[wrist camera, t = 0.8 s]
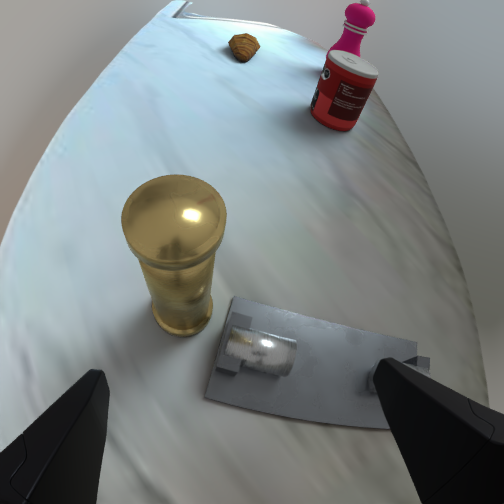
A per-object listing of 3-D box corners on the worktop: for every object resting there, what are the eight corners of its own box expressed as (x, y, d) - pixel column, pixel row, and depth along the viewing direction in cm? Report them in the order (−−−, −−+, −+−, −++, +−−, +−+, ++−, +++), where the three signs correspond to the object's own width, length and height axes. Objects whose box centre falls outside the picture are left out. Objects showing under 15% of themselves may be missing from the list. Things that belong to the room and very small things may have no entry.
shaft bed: (415, 343, 26) (435, 333, 24) (407, 429, 22) (429, 427, 19) (233, 297, 26) (238, 281, 23) (204, 397, 21) (205, 395, 18)
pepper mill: (322, 66, 56) (347, -9, 39) (352, 77, 56) (381, 4, 39) (319, 76, 52) (348, -7, 35) (352, 89, 52) (386, 8, 35)
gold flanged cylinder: (194, 347, 23) (191, 280, 12) (142, 318, 24) (100, 229, 13) (222, 298, 26) (244, 199, 15) (172, 271, 26) (161, 162, 15)
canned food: (325, 100, 47) (345, 48, 38) (361, 125, 45) (387, 73, 35) (298, 109, 43) (318, 50, 34) (338, 137, 41) (366, 77, 32)
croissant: (228, 41, 56) (231, 23, 52) (257, 45, 57) (261, 27, 53) (224, 62, 50) (227, 40, 45) (259, 66, 51) (263, 45, 46)
